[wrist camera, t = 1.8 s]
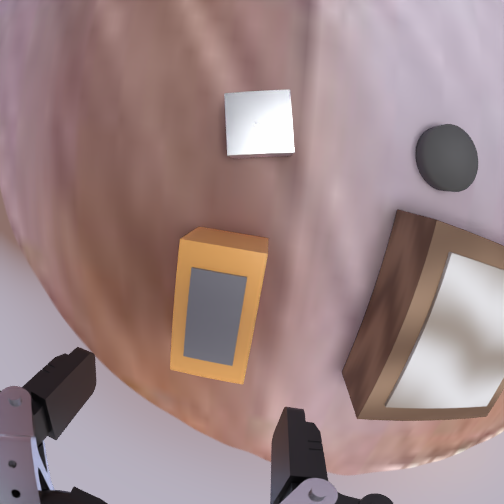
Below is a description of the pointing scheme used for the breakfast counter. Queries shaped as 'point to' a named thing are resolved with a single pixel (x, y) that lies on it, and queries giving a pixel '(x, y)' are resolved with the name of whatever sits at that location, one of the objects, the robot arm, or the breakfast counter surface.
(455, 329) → the brown square box
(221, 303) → the block
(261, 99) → the grey metal block
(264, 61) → the breakfast counter surface
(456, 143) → the black rubber puck
